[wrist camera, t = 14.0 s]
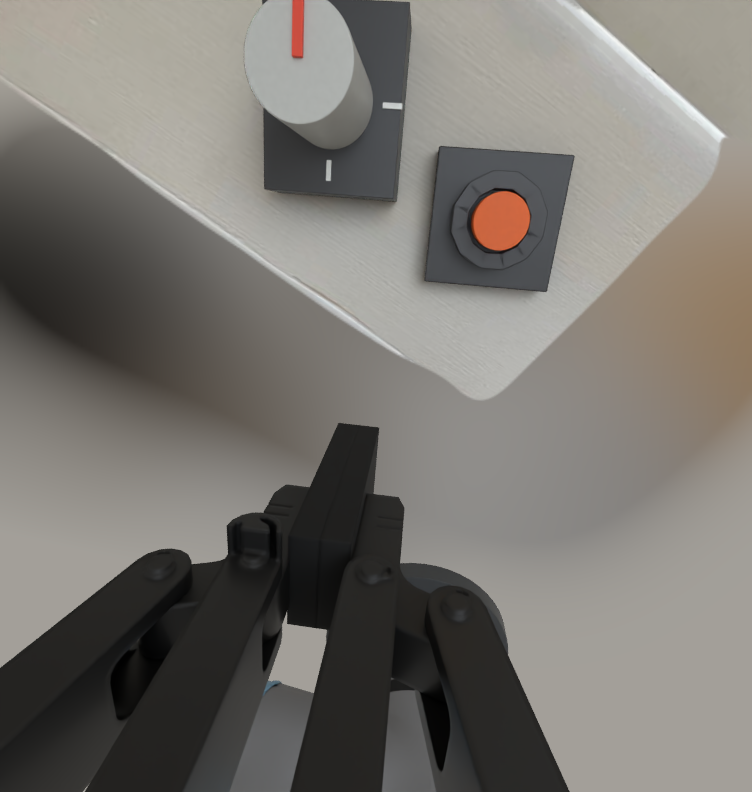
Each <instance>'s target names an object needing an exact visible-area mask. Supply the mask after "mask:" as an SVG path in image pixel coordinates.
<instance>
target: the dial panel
mask: <svg viewBox="0 0 752 792" xmlns="http://www.w3.org/2000/svg"><path fill="white" fill-rule="evenodd" d="M266 1H268V0H262V5H263V4H264V3H265V2H266ZM328 1H329V2H330V3H331V4H332V5H333V6H334V7H335V8H336V9H337V10H338V11H339V13H340V14H341V15H342V17H343V19H344V20H345V22H346V24H347V26H348V28H349V31H350V33H351V36H352V39H353V41H354V44H355V46H356V49H357V51H358V54H359V56H360V59H361V61H362V64H363V66H364V69H365V71H366V74H367V76H368V79H369V82H370V85H371V89H372V95H373V107H372V113H371V117H370V120H369V123H368V125H367V127H366V129H365V130H364V132H363V133H362V135H361V136H360V137H359V138H358V139H357V140H356V141H354V142H353V143H351V144H350V145H348V146H346V147H343V148H340V149H324V148H320V147H318V146H316V145H314V144H312V143H311V142H309V141H308V140H306V139H305V138H303V137H302V136H301V135H299V134H298V133H296V132H295V131H294V130H292V129H291V128H290V127H288V126H287V125H285V124H284V123H283V122H281V121H280V120H278V119H277V118H276V117H274V116H273V115H271V114H270V113H269V112H268V111H267V110H266V109H265V108H264V189H267V190H271V191H275V192H280V193H292V194H305V195H318V196H331V197H344V198H357V199H369V200H382V201H395V202H396V201H397V193H398V181H399V169H400V157H401V146H402V134H403V122H404V110H405V98H406V86H407V75H408V63H409V51H410V39H411V14H410V3H409V2H395V1H374V0H328Z"/></svg>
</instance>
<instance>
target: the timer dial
mask: <svg viewBox="0 0 752 792" xmlns="http://www.w3.org/2000/svg"><path fill="white" fill-rule="evenodd" d="M244 66H245V71H246V76H247V79H248V82H249V85H250V87H251V90H252V92H253V93H254V95H255V97H256V98H257V100H258V101H259V103H260V104H261V105H262V106H263V107H264V108H265V109H266V110H267V111H268V112H269V113H270V114H271V115H273V116H274V117H276V118H277V119H278V120H280V121H281V122H283V123H284V124H285V125H287V126H288V127H290V128H291V129H292V130H294V131H295V132H296V133H298V134H299V135H301V136H302V137H303V138H305V139H306V140H308V141H309V142H311V143H312V144H314V145H316V146H318V147H320V148H324V149H340V148H343V147H346V146H348V145H350V144H351V143H353V142H354V141H356V140H357V139H358V138H359V137H360V136H361V135H362V133H363V132H364V130H365V129H366V127H367V125H368V123H369V120H370V117H371V113H372V107H373V95H372V89H371V85H370V82H369V79H368V76H367V74H366V71H365V69H364V66H363V64H362V61H361V59H360V56H359V54H358V51H357V49H356V46H355V44H354V41H353V39H352V36H351V33H350V31H349V28H348V26H347V24H346V22H345V20H344V19H343V17H342V15H341V14H340V13H339V11H338V10H337V9H336V8H335V7H334V6H333V5H332V4H331V3H330V2H329V1H328V0H268V1H266V2H265V3H264V4H263V5H262V6H261V7H260V8H259V10H258V11H257V13H256V14H255V15H254V17H253V19H252V21H251V23H250V26H249V28H248V31H247V35H246V38H245V45H244Z"/></svg>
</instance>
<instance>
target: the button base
mask: <svg viewBox="0 0 752 792" xmlns="http://www.w3.org/2000/svg"><path fill="white" fill-rule="evenodd" d="M573 161H574V155H563V154H549V153H534V152H520V151H505V150H490V149H476V148H461V147H446V146H440V147H439V153H438V162H437V171H436V180H435V189H434V198H433V207H432V216H431V225H430V234H429V243H428V252H427V261H426V271H425V281H429V282H440V283H451V284H463V285H474V286H485V287H496V288H507V289H519V290H530V291H541V292H546V291H547V288H548V283H549V278H550V273H551V268H552V264H553V259H554V254H555V249H556V244H557V239H558V234H559V229H560V225H561V220H562V215H563V210H564V205H565V200H566V195H567V190H568V185H569V181H570V176H571V171H572V166H573ZM501 191H508V192H512V193H515V194H517V195H518V196H520V197H521V198H522V199H523V200H524V201H525V203H526V204H527V206H528V209H529V213H530V224H529V228H528V230H527V233H526V234H525V236H524V237H523V239H522V240H521V241H520V242H519V243H518V244H516V245H515V246H513V247H512V248H509V249H506V250H500V251H499V250H492V249H489V248H486V247H484V246H482V245H481V244H480V243H479V242H478V241H477V240H476V239H475V237H474V235H473V232H472V228H471V219H472V215H473V212H474V210H475V208H476V206H477V205H478V204H479V203H480V202H481V201H482V200H483V199H484V198H485V197H487V196H489V195H491V194H493V193H496V192H501Z"/></svg>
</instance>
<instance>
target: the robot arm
mask: <svg viewBox="0 0 752 792" xmlns="http://www.w3.org/2000/svg"><path fill="white" fill-rule="evenodd" d="M378 434H379V428H378V427H369V426H360V425H352V424H343V423H338V426H337V428H336V430H335V432H334V435H333V437H332V439H331V441H330V444H329V446H328V448H327V450H326V452H325V455H324V457H323V459H322V461H321V464H320V466H319V468H318V470H317V472H316V475H315V477H314V479H313V482H312V484H311V486H310V487H302V486H294V485H285V486H283V487H282V488H281V489H279V490H278V491H276V492H275V493H274V495H273V496H272V498H271V500H270V502H269V505H268V506H267V507H266V509H265V510H264V513H249V514H245V515H241V516H240V517H237V518H235V519H233V520H232V521H231V522H230V523H229V524H228V525H227V541H228V555H227V557H226V558H225V559H223V560H221V561H216V562H210V563H200V564H191V560H190V557H189V556H188V554H186V553H185V552H183V551H181V550H176V549H161V550H157V551H154V552H151V553H148V554H146V555H144V556H143V557H141V558H139V559H138V560H137V561H135V562H134V563H133V564H132V565H130V566H129V567H128V568H127V569H125V570H124V571H123V572H121V573H120V574H119V575H117V577H115V578H114V579H113V580H111V581H110V582H109V583H107V584H106V585H105V586H104V587H102V588H101V589H100V590H98V591H97V592H96V593H95V594H93V595H92V596H91V597H90V598H88V599H87V600H86V601H85V602H83V603H82V604H81V605H80V606H78V607H77V608H76V609H74V610H73V611H72V612H71V613H69V614H68V615H67V616H66V617H64V618H63V619H62V620H60V621H59V622H58V623H57V624H55V625H54V626H53V627H52V628H51V629H49V630H48V631H47V632H45V633H44V634H43V635H41V636H40V637H39V638H38V639H36V640H35V641H34V642H33V643H31V644H30V645H29V646H27V647H26V648H25V649H24V650H22V651H21V652H20V653H19V654H17V655H16V656H15V657H14V658H13V659H11V660H10V661H9V662H7V663H6V664H5V665H3V666H2V667H1V668H0V792H83V791H84V789H85V788H86V787H87V786H88V785H89V786H88V788H87V789H86V791H85V792H569V790H568V787H567V785H566V783H565V781H564V779H563V777H562V774H561V772H560V770H559V767H558V765H557V763H556V761H555V759H554V756H553V754H552V752H551V750H550V747H549V745H548V743H547V741H546V739H545V737H544V735H543V732H542V730H541V727H540V725H539V723H538V721H537V719H536V717H535V714H534V712H533V710H532V708H531V705H530V703H529V701H528V699H527V696H526V694H525V692H524V690H523V688H522V686H521V683H520V681H519V679H518V676H517V674H516V672H515V670H514V668H513V665H512V663H511V661H510V659H509V656H508V654H507V652H506V650H505V648H504V645H503V643H502V641H501V639H500V637H499V634H498V632H497V630H496V628H495V625H494V623H493V621H492V619H491V617H490V614H489V612H488V610H487V608H486V606H485V604H484V603H483V601H482V600H481V599H480V597H478V596H477V595H476V594H474V593H473V592H472V591H470V590H468V589H465V588H463V587H460V586H451V585H448V586H443V587H439V588H437V589H436V590H434V591H433V592H431V594H430V593H428V592H425V591H423V590H421V589H419V588H417V587H415V586H413V585H412V584H411V583H410V582H408V581H407V580H406V578H405V577H404V576H403V574H402V572H401V569H400V556H401V544H402V531H403V519H404V506H403V504H402V503H401V501H400V499H399V497H392V496H384V495H376V494H373V492H374V481H375V469H376V458H377V446H378ZM286 612H287V624H292V625H299V626H306V627H312V628H319V629H326V630H329V634H328V638H327V642H326V647H325V651H324V655H323V659H322V663H321V667H320V671H319V675H318V679H317V683H316V687H315V692H314V693H311V692H308V691H304V690H301V689H298V688H294V687H291V686H287V685H284V684H282V683H281V682H280V681H272V682H271V681H268V679H269V676H270V673H271V670H272V667H273V664H274V661H275V658H276V656H277V653H278V650H279V647H280V644H281V638H282V623H283V621H284V618H285V615H286ZM89 783H90V784H89Z"/></svg>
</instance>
